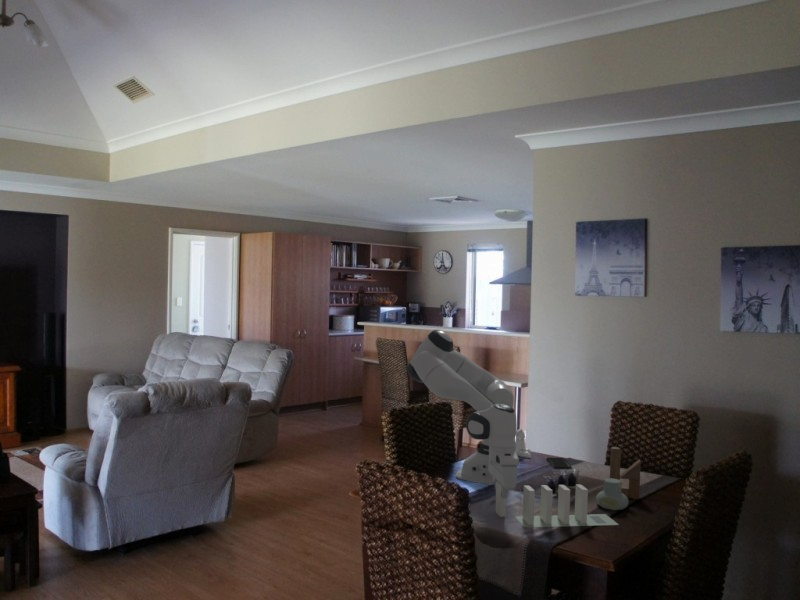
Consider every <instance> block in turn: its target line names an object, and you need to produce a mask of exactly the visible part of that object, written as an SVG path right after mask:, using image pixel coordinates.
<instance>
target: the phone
mask: <svg viewBox="0 0 800 600" xmlns="http://www.w3.org/2000/svg"><path fill="white" fill-rule="evenodd" d="M546 460H547V462H548V463H549V465H551V466H552V468H553V469H559V470H560V469H561V470H563V469H564V470H571V469H572V467H573V466H572V465H571V464H570V463H569V462H568V461H567V460H566V458H564V457H546Z"/></svg>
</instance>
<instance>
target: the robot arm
mask: <svg viewBox="0 0 800 600" xmlns="http://www.w3.org/2000/svg"><path fill="white" fill-rule="evenodd" d="M406 369H407V370H406V371H407V375H408V376H409V377H410V378H412V379H413V380H414V381H416V382H418V383H420V384H424V385H425V386H426V387H427V389H428V390H429V391H430V392H431V393H432V394H433V395H435V396H437V397H439V398H443V399H451V400H458V401H462V402H465V403H466V404H469V406H471V407H472V408H473V409H474V410H475V411H474V412H472V413H470V414H469V415H468V416H467V417H466V421H465V428H466V432H467V434H468V435H469V436H470V437H471V438H472V439H474V440H479V441H478V443H477V444H476V448H475V449H476V451H475V452H473V453H472V454H471V455H470V456H467V458H465V459H464V460H463V463H462V466H461V469H459V470H458V471H457V472H456V473H455V478H456V479H459V480H462V481H464V480H465V481H469V482H473V483H478V484H484V485H488V486H494V491H496V481H498V482H499V483H500V484H501V485H502V492H501V497H502V498H503V499H505V498H506V499H507V498H508V493H509V491H510V490H515V489H516V487H517V482H518V466H519V464H520V458H519V456H517V454H516V443H515V442H516V431H517V414H516V412H515V409H514V401H515V398H514V393H513V390H512V389H511V388H510V387H509V386H508V385H507V384H506V383H505V382H504V381H503V380H501V379H500V378H498V377H497V376H496V375H494V374H492V373H491V372H489V371H487V370H486V369H485V368H483V367H481V366H480V365H478V364H477V363H476V362H474V361H473V360H471V359H470V358H468V357H467V356H466V355H465V354H463V353H461V352H460V351H457V350H455V349H454V340H453V339H452V338H451V336H450V335H449V334H448V333H447V332H445V331H443V330H440V329H433V330H432V331H430V332H429V333H428V335H427V337H426V338H424V339H423V341H422V342H421V344H420V345H418V348H417V350H416V351H415V353H414V354H413V356H412V358H411V360H409V362H408V364H407V367H406Z"/></svg>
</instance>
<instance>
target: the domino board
mask: <svg viewBox="0 0 800 600" xmlns="http://www.w3.org/2000/svg"><path fill="white" fill-rule="evenodd" d="M514 518H515V519H516V520H517V521H518V523H519V524H520V525H522V527H523V528H525V529H526V528H552V527H553V528H554V527H555V528H556V527H561V528H562V527H589V526H590V527H592V526H595V527H596V526H619V525H620V524H619V523H617V522H616V521H615V520H614V519H612V518H611V517H610V516H609V515H608V514H606V513H600V514H599V513H597V514H596V513H593V514H592V513H591V514H588V513H587V523H581V522H579V521H578V520H577V519H576V518H575V514H569V524H564V523H563V522H562V521H560V520H559V519H558V518H557V514H555V515H552V523H551V524H545V523H544V522H543V521H542V520H541V519H540V515H534V525H528V524H527V523H526V522H525V521H524V519H523V515H519V516H518V515H516V516H515V515H514Z"/></svg>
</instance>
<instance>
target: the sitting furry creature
mask: <svg viewBox="0 0 800 600" xmlns="http://www.w3.org/2000/svg"><path fill="white" fill-rule="evenodd" d="M523 431H524V430H523V429H522V428H519V429H516V435H515V438H516V439H515V443H516V454H517V456H518V457H521V458H526V459H530V458H531V457H532V454H531V449H530V448H527V447H526V442H525V439H526V436H525V432H523Z"/></svg>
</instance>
